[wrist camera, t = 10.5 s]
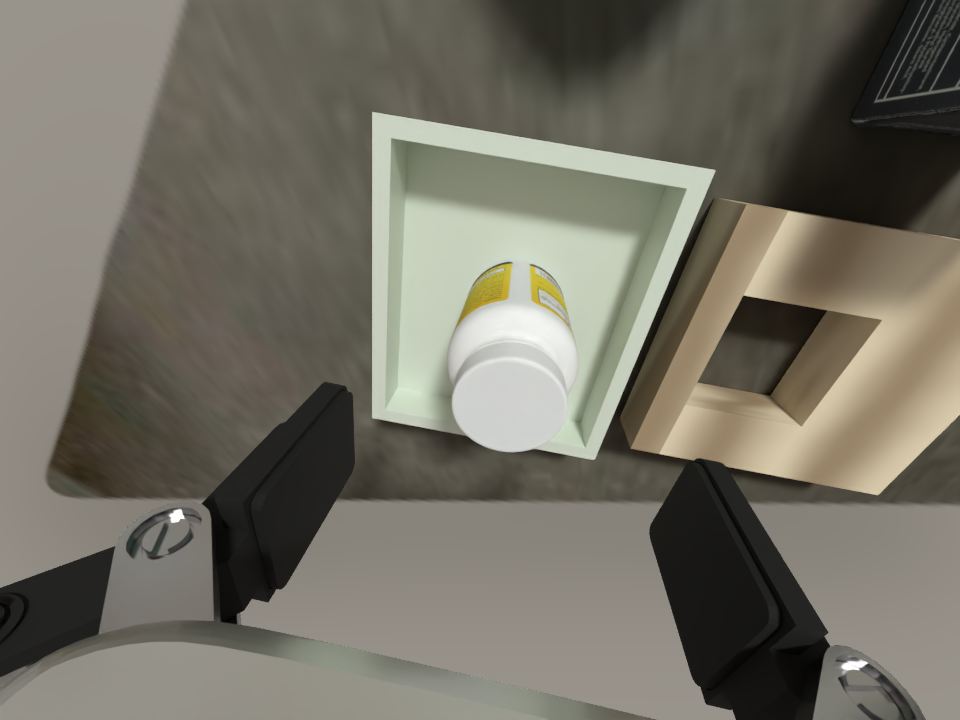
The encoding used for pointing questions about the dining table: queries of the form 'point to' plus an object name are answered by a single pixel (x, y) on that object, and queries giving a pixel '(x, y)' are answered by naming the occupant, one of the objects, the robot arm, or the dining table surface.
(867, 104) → the small box
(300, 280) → the dining table surface
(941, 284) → the beige flat square frame
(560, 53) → the dining table surface
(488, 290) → the supplement bottle
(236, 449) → the dining table surface
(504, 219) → the tray
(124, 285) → the dining table surface
